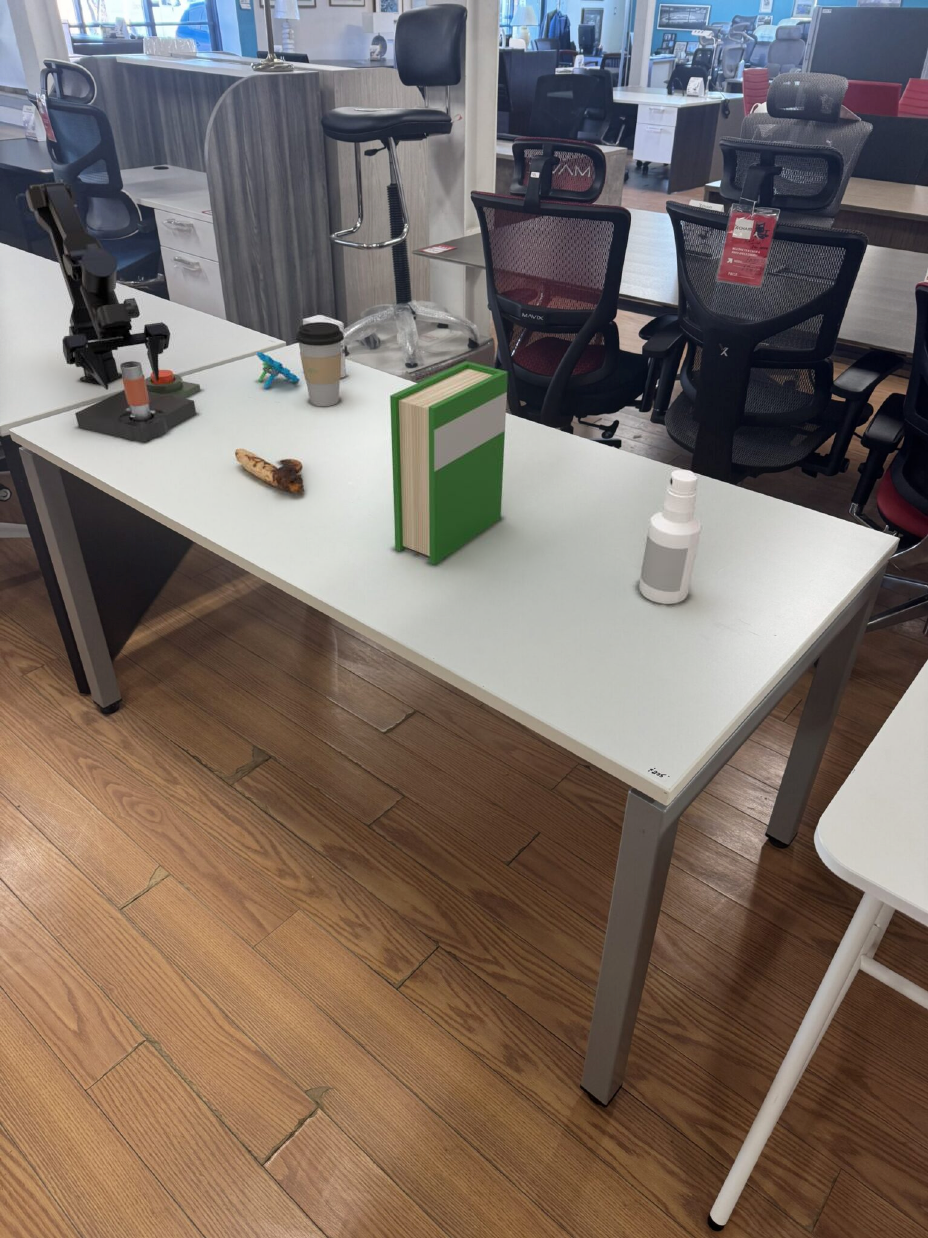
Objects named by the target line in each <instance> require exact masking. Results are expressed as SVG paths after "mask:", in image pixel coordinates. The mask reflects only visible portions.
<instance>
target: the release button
mask: <svg viewBox="0 0 928 1238" xmlns="http://www.w3.org/2000/svg"><path fill="white" fill-rule="evenodd" d="M173 374H174V372H173V371H172V370H170V369H159V380H158V381H156V379H155V377H154V375H153V372H151V373H150V376H151V379H152V383H155V384H166V383H171V382H173V381H174V376H173Z"/></svg>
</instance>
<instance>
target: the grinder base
mask: <svg viewBox="0 0 928 1238" xmlns="http://www.w3.org/2000/svg"><path fill="white" fill-rule="evenodd" d="M147 392H148V396H149V405H150V410H152V411H155V413H153V414H151V415H152V419H150V420H147V421H141V422H135V421H132V417H130V415H131V413H130V411H126V409H127V408H129V405H128V403H127V399H126V394H125V390H124V389H123V390H122V391H119V392H118V393H115V394H113V395H111V396H109V397H107V398H104V399H102V400H101V401H98V402H96V403H94V404H91V405H89V406H87V407H85V408H83V409H80V410H78V411H76V412H75V414H74V415H75V418H76V422H77V426H78V429H83V430H87V431H92V432H95V433H100V434H105V435H109V436H114V437H118V438H123V439H124V440H129V441H133V442H139V443H147V442H149V441H151V440H155V439H159V438H161V437H163V436H164V435H166V434H167V432H169V431H170V430H171V429H173V428H174V427H176V426H178V425H180V424H182V423H184V422H186V421H188V420H189V419H192V418H193V417H195V416H197V411H196V410H197V409H196V405H195V404H196V403H195V400H194V399H188V398H185V399H184V398H179V397H174V396H169V395H164V394H159V393H154V392H149V391H147Z"/></svg>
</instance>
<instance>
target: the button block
mask: <svg viewBox="0 0 928 1238" xmlns="http://www.w3.org/2000/svg"><path fill="white" fill-rule="evenodd" d="M173 376H174V381H173V382H171V383H166V384H155V383H152V379H151V375H150V376H148V377H145V382H146V387H147V391H149V392H154V393H159V394H164V395H169V396H174V397H179V398H184V399H188V398H189V397H192V396H193V395H195V394H197V393H199V392H201V385H200V384H199V383H195V382H188V381H183V378H182V376H180V375H179V374H174V373H173Z"/></svg>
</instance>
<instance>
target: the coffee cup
mask: <svg viewBox="0 0 928 1238" xmlns="http://www.w3.org/2000/svg"><path fill="white" fill-rule="evenodd" d="M295 336H296V337H295V341H297V343H298V347H299V356H300V360H301V361H300V362H301V366H302V371H303V375H304V377H303V378H304V380H305V383H306V387H307V392H308V397H309V402H310V403H311V405H313V406H317V407H330V406H334V405H337V404H338V403H339V401H340V381H341V378H340V376H341V341H342V340H343V339H344V340H345V335H344V336H343V333H342V331H340V329H339V326H338V325H336V324H333V323H327V322H314V323H308V324H304V325H303V324H302V325H300V326H299V327H298V332H296V334H295Z"/></svg>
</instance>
